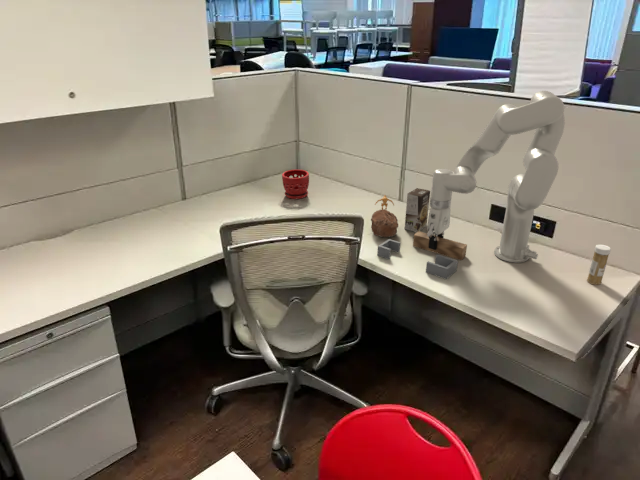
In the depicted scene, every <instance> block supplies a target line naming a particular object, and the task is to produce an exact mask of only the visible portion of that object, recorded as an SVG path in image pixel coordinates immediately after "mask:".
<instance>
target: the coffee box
mask: <svg viewBox="0 0 640 480" xmlns="http://www.w3.org/2000/svg"><path fill="white" fill-rule="evenodd" d="M430 198H431V190H428V189H424V188H417V187H416V188H415V189H413V190H412V191H410V192H408V193H407V198H406V206H405V207H406V209H405V219H404V230H407V231H410V232H414V233H417V232H418V231H420V232H421V231H422V230H423V229H425V228H427V224H428V217H429V209H430Z"/></svg>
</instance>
